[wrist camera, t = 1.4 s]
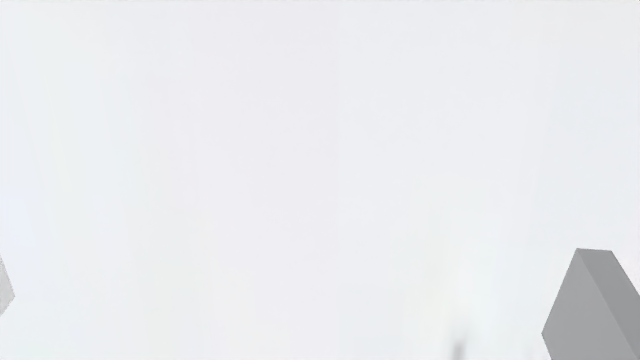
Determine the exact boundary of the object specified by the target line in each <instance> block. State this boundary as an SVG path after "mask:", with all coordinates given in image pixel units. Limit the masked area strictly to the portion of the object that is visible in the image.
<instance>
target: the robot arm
mask: <svg viewBox="0 0 640 360" xmlns="http://www.w3.org/2000/svg"><path fill="white" fill-rule="evenodd" d="M14 297H15V294H14V292H13V289H12V286H11V283H10V280H9V278H8V275H7V272H6V269H5V266H4V264H3V261H2V258H1V255H0V317H1V315H2V314H3V313H4V311H5V310H6V308H7V307H8V306H9V304H10V303H11V301H12V300H13V298H14ZM541 334H542V336H543V339H544V341H545V344H546V347H547V349H548V352H549V354H550V357H551V360H640V295H639V294H638V292H637V291H636V289H635V287H634V286H633V284H632V283H631V281H630V279H629V278H628V276H627V275H626V273H625V272H624V270H623V268H622V267H621V265H620V264H619V262H618V260H617V259H616V257H615V256H614V254H613V252H612V251H607V250H593V249H579V248H577V249H576V251H575V253H574V256H573V258H572V261H571V263H570V266H569V268H568V270H567V273H566V275H565V278H564V280H563V283H562V285H561V287H560V290H559V292H558V295H557V297H556V299H555V302H554V304H553V307H552V309H551V312H550V314H549V316H548V319H547V321H546V324H545V326H544V329H543V331H542V333H541Z"/></svg>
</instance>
